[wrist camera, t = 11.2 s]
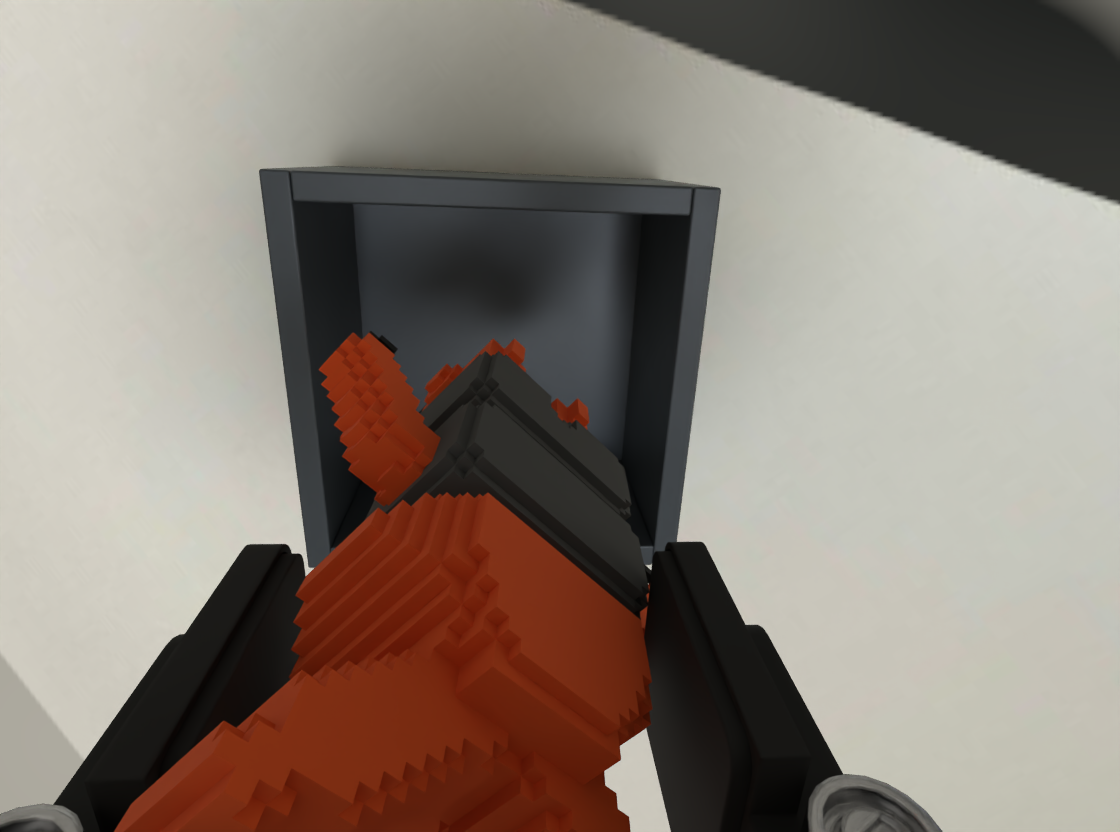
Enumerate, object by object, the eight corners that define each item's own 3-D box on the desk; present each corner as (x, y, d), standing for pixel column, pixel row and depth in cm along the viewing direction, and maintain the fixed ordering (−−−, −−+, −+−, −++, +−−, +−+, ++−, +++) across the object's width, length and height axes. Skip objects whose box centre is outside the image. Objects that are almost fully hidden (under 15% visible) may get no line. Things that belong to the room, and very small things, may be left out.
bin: (661, 179, 25) (721, 187, 18) (634, 467, 30) (674, 565, 23) (333, 165, 24) (257, 168, 17) (358, 465, 29) (308, 568, 22)
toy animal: (295, 401, 16) (-274, 991, 5) (438, 245, 14) (71, 600, 3) (524, 584, 18) (478, 1257, 7) (669, 466, 17) (882, 1095, 6)
